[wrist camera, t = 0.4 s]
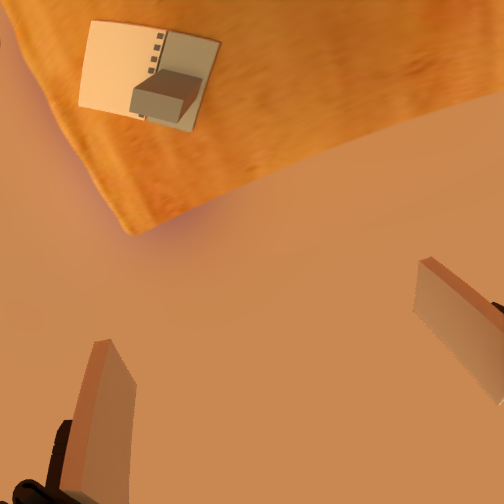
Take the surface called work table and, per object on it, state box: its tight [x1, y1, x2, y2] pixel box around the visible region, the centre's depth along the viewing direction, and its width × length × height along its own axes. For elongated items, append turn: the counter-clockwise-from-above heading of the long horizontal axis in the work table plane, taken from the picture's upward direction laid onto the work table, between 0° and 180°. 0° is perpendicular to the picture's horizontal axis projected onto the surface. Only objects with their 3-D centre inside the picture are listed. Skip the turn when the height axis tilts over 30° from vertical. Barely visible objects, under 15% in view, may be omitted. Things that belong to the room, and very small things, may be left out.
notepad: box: [78, 20, 170, 120], centre depth 32 cm, size 10×12×2 cm
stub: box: [129, 31, 221, 133], centre depth 30 cm, size 6×12×10 cm, turn 161°
